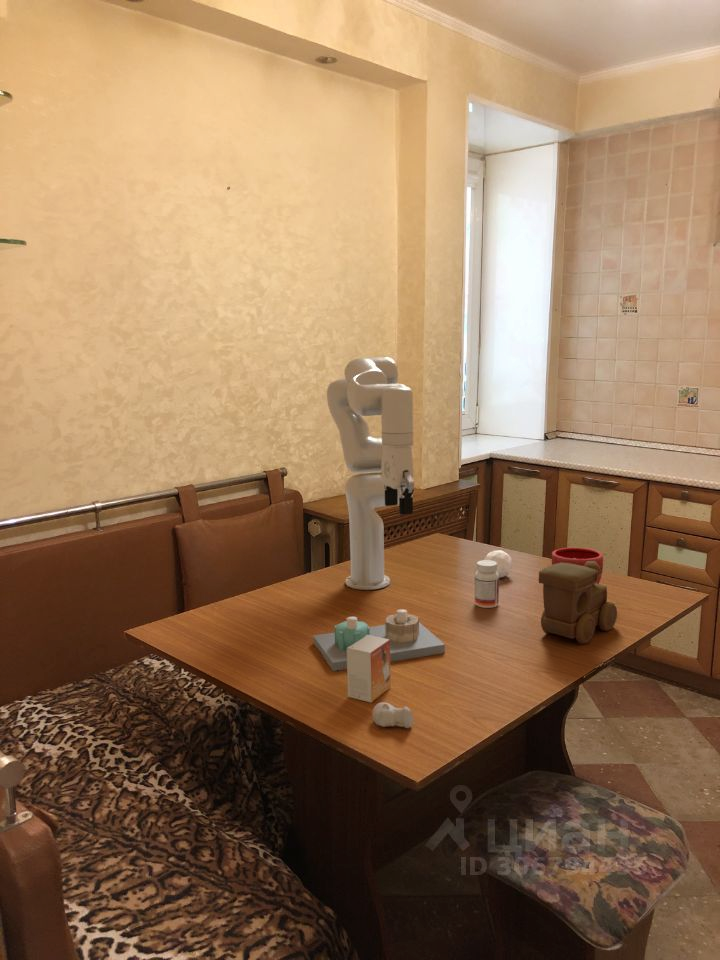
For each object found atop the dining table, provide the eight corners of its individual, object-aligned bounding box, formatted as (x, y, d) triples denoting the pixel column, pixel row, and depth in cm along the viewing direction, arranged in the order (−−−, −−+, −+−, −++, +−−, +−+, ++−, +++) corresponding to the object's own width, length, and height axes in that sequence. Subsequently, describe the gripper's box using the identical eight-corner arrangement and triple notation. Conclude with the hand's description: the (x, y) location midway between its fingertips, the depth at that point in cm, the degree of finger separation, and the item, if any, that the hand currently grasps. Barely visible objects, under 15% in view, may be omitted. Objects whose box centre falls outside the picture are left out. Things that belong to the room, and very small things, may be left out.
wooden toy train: (577, 651, 176) (579, 580, 173) (533, 638, 184) (534, 569, 181) (621, 626, 190) (623, 559, 187) (578, 615, 198) (580, 550, 195)
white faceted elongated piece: (484, 570, 223) (470, 563, 235) (507, 585, 225) (492, 577, 236) (499, 547, 223) (484, 541, 235) (521, 562, 225) (506, 555, 237)
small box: (371, 703, 154) (370, 653, 152) (347, 697, 157) (345, 647, 155) (391, 687, 161) (390, 638, 159) (368, 681, 164) (367, 633, 162)
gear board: (313, 643, 184) (312, 610, 182) (416, 627, 192) (416, 596, 191) (333, 671, 169) (332, 636, 168) (444, 652, 177) (444, 618, 176)
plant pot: (612, 597, 210) (614, 553, 208) (578, 607, 203) (580, 562, 200) (573, 584, 221) (574, 542, 218) (540, 594, 213) (541, 551, 211)
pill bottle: (485, 598, 211) (486, 557, 209) (503, 604, 206) (504, 562, 204) (469, 604, 207) (469, 562, 205) (487, 610, 202) (488, 567, 200)
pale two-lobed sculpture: (368, 729, 147) (382, 711, 151) (405, 741, 143) (419, 722, 146) (363, 712, 145) (378, 693, 149) (400, 723, 141) (414, 704, 144)
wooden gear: (380, 632, 184) (380, 616, 184) (411, 627, 187) (411, 611, 186) (392, 644, 178) (391, 627, 177) (424, 639, 180) (424, 622, 179)
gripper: (370, 435, 195) (371, 503, 198) (396, 445, 179) (397, 519, 182) (398, 433, 197) (399, 500, 201) (426, 443, 181) (427, 515, 185)
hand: (398, 509), depth 192 cm, fingers open, 9 cm apart
